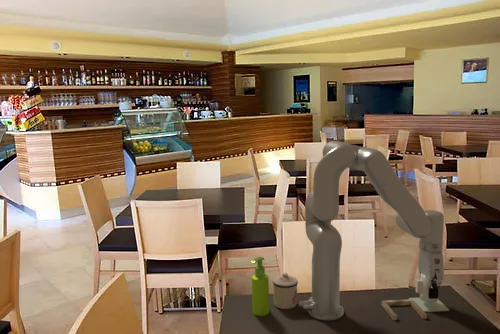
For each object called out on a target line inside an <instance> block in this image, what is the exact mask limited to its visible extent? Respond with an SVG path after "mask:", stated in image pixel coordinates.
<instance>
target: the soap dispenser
mask: <svg viewBox="0 0 500 334" xmlns="http://www.w3.org/2000/svg"><path fill="white" fill-rule="evenodd" d="M264 260H265V257H262V256H258V257H254V258H252V260H250V263H251V264H257V265H255V267H254V274H253V275H251V301H252V302H251V303H252V304H251V305H252V314H253V315H255V316H258V317H263V316H267V315H268V314H269V313H270V293H269V292H270V290H269V289H270V288H269V287H270V285H269V281H270V280H269V275H268V274H266V269H265V265H263V261H264Z"/></svg>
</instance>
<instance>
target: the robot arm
mask: <svg viewBox="0 0 500 334" xmlns="http://www.w3.org/2000/svg"><path fill="white" fill-rule="evenodd" d="M321 154H322V158H321V159H320V160H319V162H318V163H317V165H316V167H315V169H314V173H313V181H312V182H313V183H312V185H313V186H312V190H311V191H310V192H309V193H308V194H307V196H306V199H305V204H304V205H305V208H304V209H305V210H304V214H305V215H304V218H305V221H304V222H305V224H304V225H305V234H306V237H307V238H308V240H309V241H310V243H311V244H312V255H311V256H312V257H311V296H309V299H307V300H299V301H298V300H297V306H298V307H302V308H303V310H306V311H307V314H308V315H309V316H311V317H312V318H314V319H317V320H320V321H324V322H325V321H330V322H331V321H336V320H339V319H341V318H342V317H343V316H344V314H345V309H344V307H343V306H342V305H340V290H341V288H340V286H341V285H340V284H341V283H340V279H341V278H340V276H341V275H340V274H341V273H340V272H341V271H340V268H341V264H340V263H341V252H342V247H343V240H342V236H341V234H340V232H339V230H338V229H337V228H336V227H335V226H334V225H333V224H332V221H334V220H335V219H336V218H337V217H338V215H339V210H340V199H339V198H340V197H339V194H340V193H339V192H340V191H339V190H340V178H341V176H342V174H343V173H344V171H346V169H354V170H358V171H361V172H364V173H365V175H366V177H367V178H368V180H369V181H370V183H371V185H372V186H373V188H374V189H375V192H376V193H377V194H378V196H379V197H380V198H381V200H383V201H384V202H385V203H386V204H387V205H389V206H390V207H391V208H392V209H393V210H394V211H395V212H396V213H397V215H396V217H395V223H396V226H397V227H398V228H399V229H400V230H402V231H404V232H405V233H407V234H408V235H410V236H412V237H414V238H417V239H419V243H418V244H419V245H418V246H419V247H418V249H419V252H418V260H417V261H418V263H417V264H418V266H417V267H418V268H417V269H418V272H419V277H420V276H421V273H422V274H423V275H424V276H425V277H427V278H428V279H429V282H430V287H429V299H437V298H439V289H440V287H441V285H442V284H443V280H444V277H445V276H444V273H445V272H444V271H445V269H444V256H443V246H444V245H443V244H444V243H443V242H444V228H445V227H444V224H445V223H444V222H445V216H444V213H443V212H441V211H438V210H434V209H433V210H432V209H431V210H429V209H427V210H424V208H423V207H422V206H421V204H420V203H419V202H418V200H417V199H416V198H415V197H414V196H413V195H412V193H411V192H410V191H409V190H408V189H407V187H406V186H405V185H404V184H403V182H402V181H401V180H400V178H399V177H398V174H396V171H395V170H394V168H393V167H392V165H391V163H390V162H389V160H388V159H387V156H386V155H385V154H384V153H383V152H382V151H380V150H378V149H375V148H371V147H366V146H361V145H360V146H359V145H356V144H351V143H348V142H344V141H338V140H331V141H329V142H327V143H326V144H325V145H324V146H323V148H322V153H321ZM433 277H435V278H436V279H432V278H433ZM432 281H436V283H434V284H433V282H432Z"/></svg>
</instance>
